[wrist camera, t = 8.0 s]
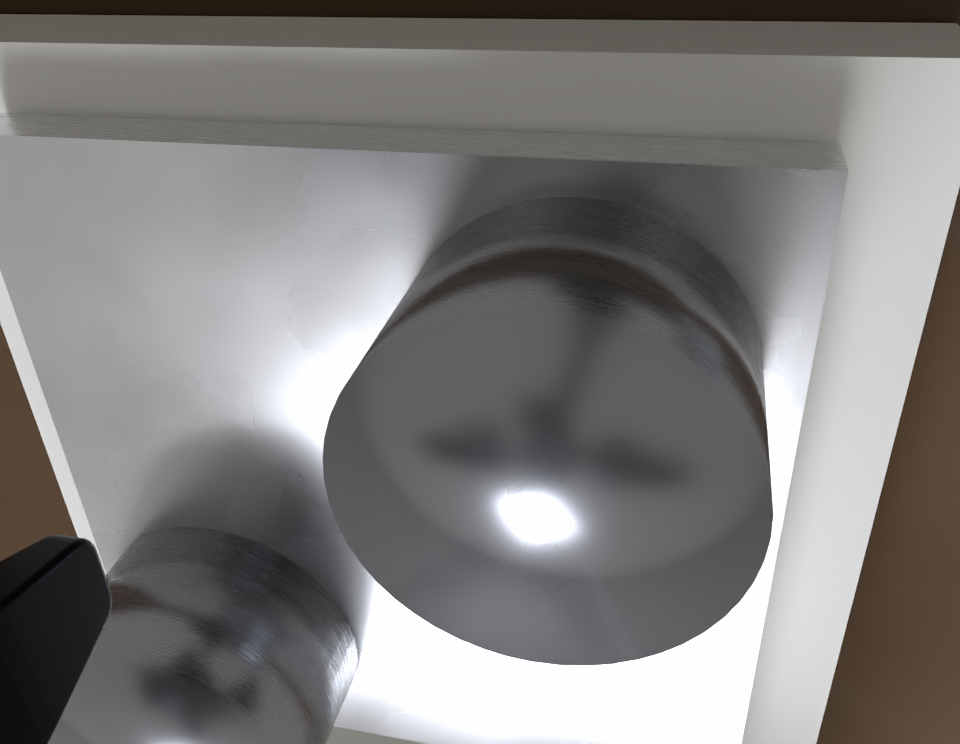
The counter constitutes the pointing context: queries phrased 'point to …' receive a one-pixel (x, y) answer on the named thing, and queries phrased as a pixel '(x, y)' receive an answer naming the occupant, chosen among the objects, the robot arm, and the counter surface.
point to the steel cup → (560, 438)
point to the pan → (343, 343)
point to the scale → (605, 111)
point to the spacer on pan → (212, 649)
